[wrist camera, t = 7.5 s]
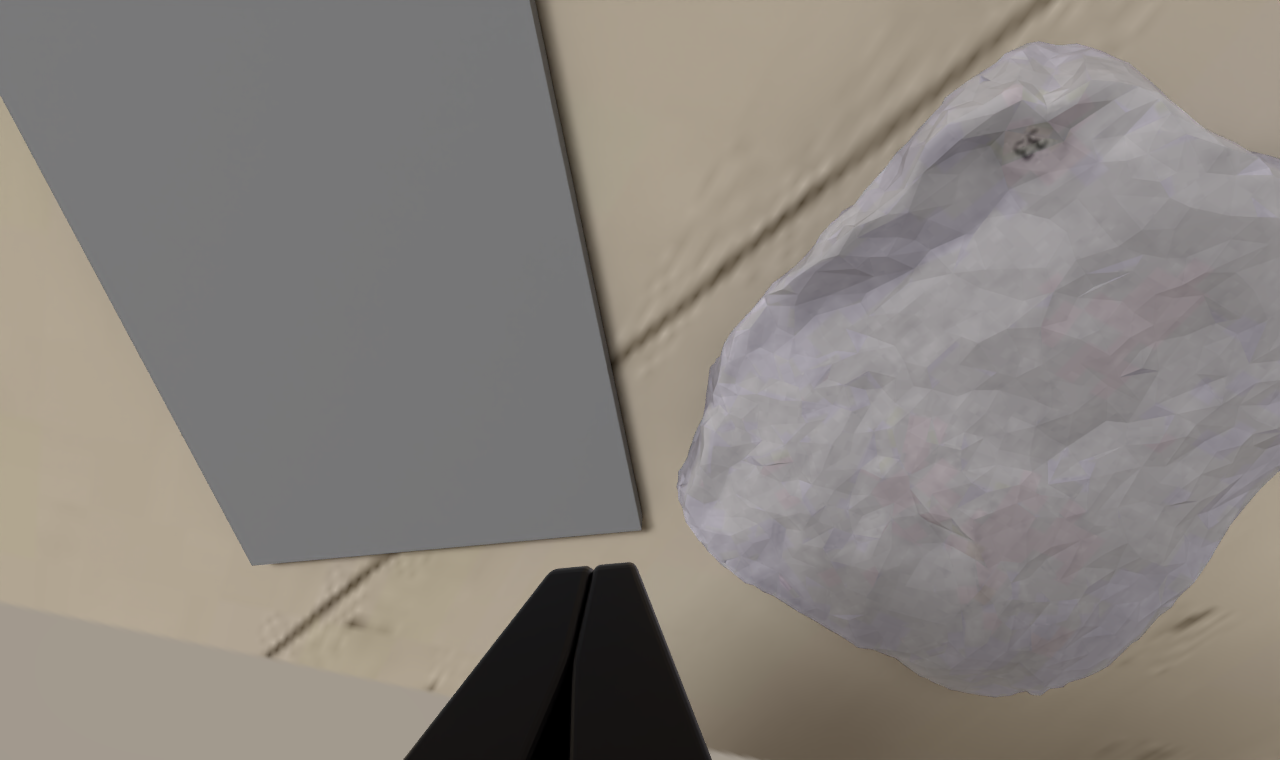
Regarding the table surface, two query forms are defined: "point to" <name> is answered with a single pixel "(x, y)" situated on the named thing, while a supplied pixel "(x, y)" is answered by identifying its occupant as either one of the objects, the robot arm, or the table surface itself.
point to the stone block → (1007, 382)
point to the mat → (339, 259)
